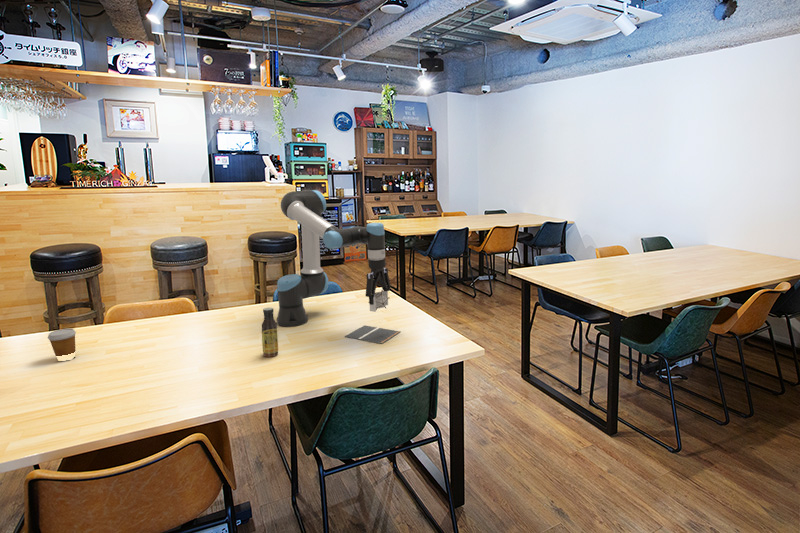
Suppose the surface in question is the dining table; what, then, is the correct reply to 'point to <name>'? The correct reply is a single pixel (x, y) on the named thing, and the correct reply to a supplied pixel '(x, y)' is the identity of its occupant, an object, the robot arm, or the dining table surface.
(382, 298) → the game die
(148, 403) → the dining table surface
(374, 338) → the lane mat
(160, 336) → the dining table surface
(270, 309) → the sauce bottle
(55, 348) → the disposable coffee cup
